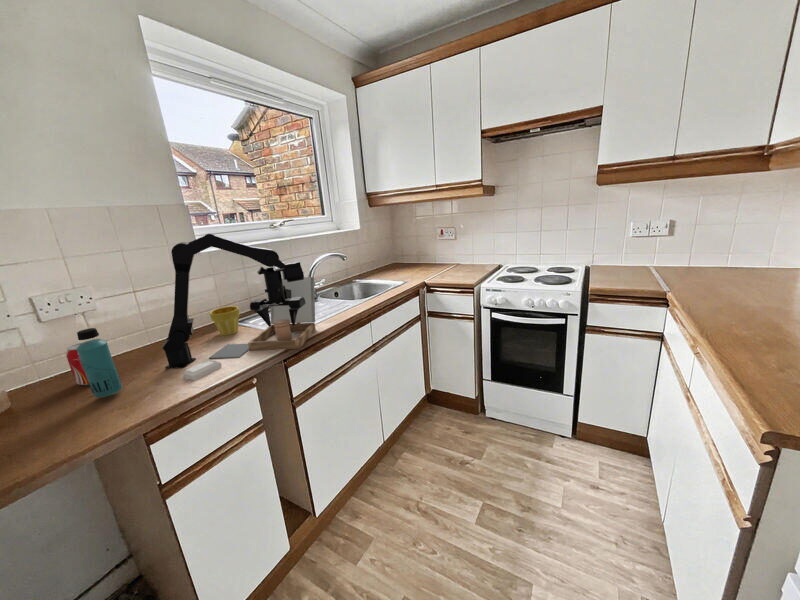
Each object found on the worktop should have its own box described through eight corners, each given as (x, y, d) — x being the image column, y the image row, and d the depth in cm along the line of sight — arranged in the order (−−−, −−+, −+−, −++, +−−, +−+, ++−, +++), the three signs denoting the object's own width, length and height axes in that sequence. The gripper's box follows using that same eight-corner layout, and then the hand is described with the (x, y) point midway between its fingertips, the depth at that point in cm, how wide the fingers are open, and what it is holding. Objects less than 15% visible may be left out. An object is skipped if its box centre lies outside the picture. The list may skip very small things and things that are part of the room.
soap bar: (184, 378, 102) (182, 370, 101) (212, 365, 110) (210, 358, 109) (194, 381, 100) (191, 373, 99) (221, 368, 107) (219, 360, 107)
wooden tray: (298, 348, 116) (297, 340, 116) (249, 350, 118) (247, 342, 117) (315, 329, 134) (314, 322, 133) (272, 331, 135) (271, 324, 135)
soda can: (84, 378, 106) (71, 343, 103) (111, 373, 109) (99, 339, 105) (72, 389, 100) (58, 352, 97) (101, 383, 102) (88, 347, 99)
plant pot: (232, 337, 132) (226, 313, 130) (209, 337, 135) (203, 314, 132) (248, 327, 142) (243, 305, 139) (227, 327, 144) (221, 306, 142)
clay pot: (289, 342, 123) (285, 324, 121) (273, 343, 123) (270, 325, 122) (295, 336, 128) (292, 319, 126) (280, 336, 129) (277, 319, 127)
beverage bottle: (121, 387, 99) (99, 323, 93) (127, 394, 95) (104, 327, 89) (92, 398, 94) (67, 331, 88) (97, 405, 90) (71, 336, 84)
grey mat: (239, 357, 113) (239, 356, 113) (209, 358, 114) (208, 357, 114) (255, 344, 124) (255, 343, 123) (227, 345, 125) (227, 344, 125)
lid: (313, 276, 134) (314, 277, 135) (270, 279, 136) (271, 279, 136) (314, 322, 133) (315, 322, 133) (271, 324, 135) (271, 324, 135)
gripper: (307, 278, 127) (313, 317, 131) (260, 280, 129) (267, 319, 133) (296, 285, 116) (303, 327, 120) (245, 288, 118) (253, 329, 122)
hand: (281, 325), depth 124 cm, fingers open, 9 cm apart
